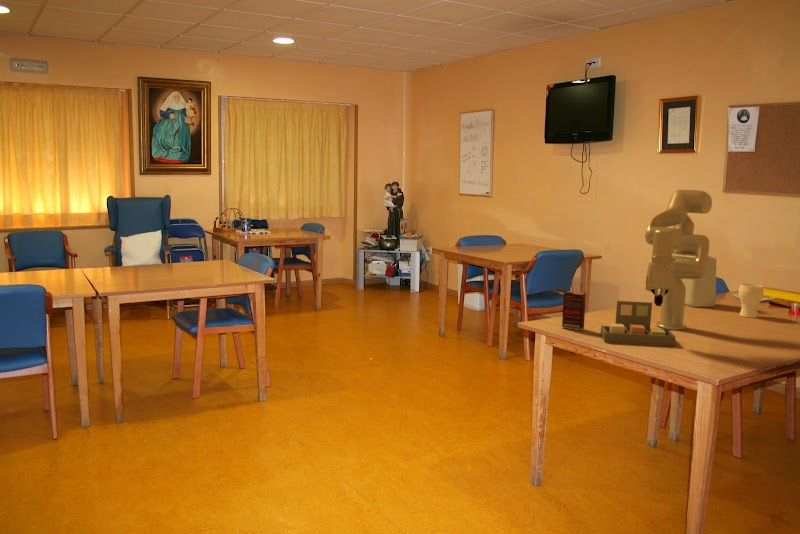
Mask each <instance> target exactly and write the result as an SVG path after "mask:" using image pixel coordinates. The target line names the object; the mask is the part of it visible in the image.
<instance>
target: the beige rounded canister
mask: <svg viewBox="0 0 800 534" xmlns="http://www.w3.org/2000/svg"><path fill="white" fill-rule="evenodd" d="M685 257H692V258H696V257H695V256H687V255H685ZM681 280H682V282H683V283H684V285H685V287H686V297H685V305H686V306H688V307H691V308H712V307H715V306H716V304H717V297H716V296H717V258H716V257H713V256H709V255H708V260H707V266H706V272H705V275H704V277H703V279H701V280H692V279H681Z"/></svg>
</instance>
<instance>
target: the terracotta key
mask: <svg viewBox="0 0 800 534" xmlns="http://www.w3.org/2000/svg"><path fill="white" fill-rule="evenodd" d="M630 334H645V327H644V326H643V325H630Z"/></svg>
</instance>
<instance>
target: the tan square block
mask: <svg viewBox="0 0 800 534" xmlns="http://www.w3.org/2000/svg"><path fill="white" fill-rule="evenodd" d="M609 326H610V332H612V333H624V329H625V327H624V325H623V324H615V323H612V322H611V323H609Z"/></svg>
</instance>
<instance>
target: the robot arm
mask: <svg viewBox="0 0 800 534" xmlns="http://www.w3.org/2000/svg"><path fill="white" fill-rule="evenodd" d="M712 207H713V199H712V197H711V195H710V194H709V193H708V192H706V191H704V190H699V189H697V190H696V189H695V190H694V189H678V190H677V189H676V190H675V191H674V192H673V193H672V194H671V196H670V198H669V201H668V204H667V206H666V209H665V210H663V211H662V212H660V213H658V214H657V215H655V216H653V217H652V218H651V220H650V221H649V222H648V225H647V228H646V231H645V236H644V239H645V242H646V243H647V244H648V245H651V246H652V254H651V255H652V256H651V262H649V263H648V267H647V271H646V277H645V288H644V290H645V291H648V292H651V293H652V294H653V295H654V298H653V300H654V301H653V303H654V305H655V306H656V307H661V309H660V320H659V321H657V322H656V324H655V325H656V327H658V328H660V329H668V330H672V331H673V330H675V331H677V330H678V331H682V330H686V329H687V328H688V326H687V324H685V323H684V319H685V318H684V317H685V297H686V287H685V285H684V283H683V282H682V279H692V280H701V279H703V277H704V275H705V272H706V266H707V260H708V256H709V253H710V239H709V238H708V236H706V235H704V234H694V230H695V229H694V228H695V223H694V221H693V220H692V219H691V217H690V216H689V215H688V213H689V214H703V215H705V214H708V213H710V211H712ZM673 254H674V255H673ZM686 256H695V257H696V258H692V257H686ZM659 290H660V291H659Z"/></svg>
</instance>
